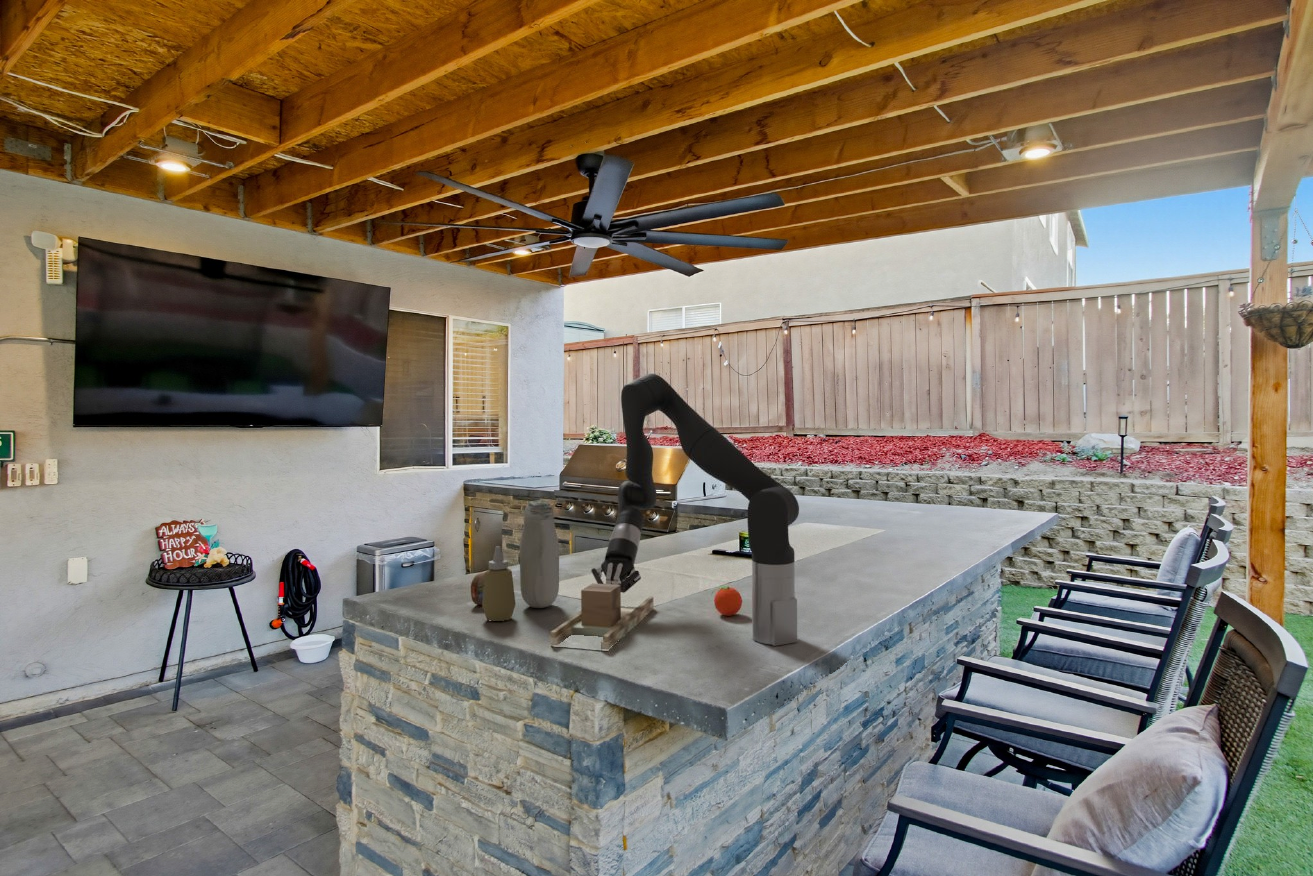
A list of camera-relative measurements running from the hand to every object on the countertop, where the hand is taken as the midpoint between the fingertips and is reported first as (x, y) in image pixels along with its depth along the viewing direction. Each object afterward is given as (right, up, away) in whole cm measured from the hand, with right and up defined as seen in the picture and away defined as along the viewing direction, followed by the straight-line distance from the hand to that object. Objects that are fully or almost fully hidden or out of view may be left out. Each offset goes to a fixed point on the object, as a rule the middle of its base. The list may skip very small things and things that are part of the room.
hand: (607, 605), depth 160 cm
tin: (-34, -5, +23) cm, 41 cm away
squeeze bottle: (-27, -5, +6) cm, 28 cm away
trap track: (0, -5, -1) cm, 5 cm away
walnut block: (-1, -3, -5) cm, 5 cm away
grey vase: (-19, -5, +17) cm, 26 cm away
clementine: (+29, -4, +7) cm, 30 cm away
